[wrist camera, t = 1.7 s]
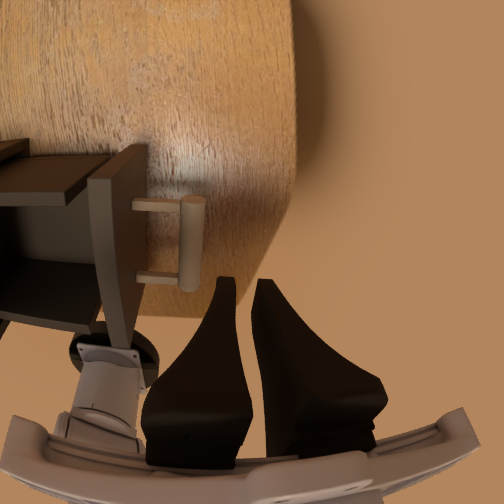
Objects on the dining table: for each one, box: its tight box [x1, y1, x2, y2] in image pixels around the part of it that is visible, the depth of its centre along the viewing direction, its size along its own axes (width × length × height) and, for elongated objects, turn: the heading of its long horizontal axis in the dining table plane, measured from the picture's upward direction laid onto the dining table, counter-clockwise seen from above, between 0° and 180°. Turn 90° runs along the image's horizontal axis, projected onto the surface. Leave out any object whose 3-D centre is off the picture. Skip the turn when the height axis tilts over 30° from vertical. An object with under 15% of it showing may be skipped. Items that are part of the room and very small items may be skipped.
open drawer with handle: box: [0, 144, 206, 349], centre depth 16 cm, size 18×10×8 cm, turn 82°
